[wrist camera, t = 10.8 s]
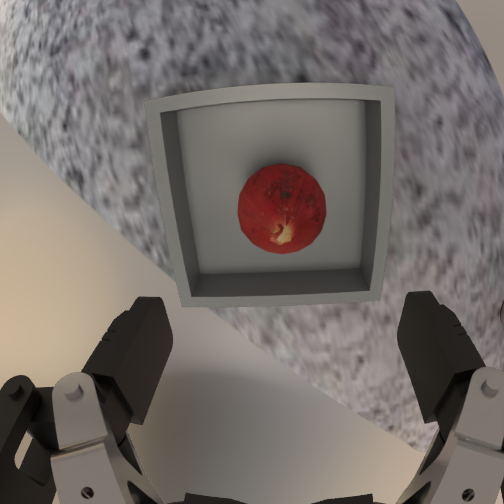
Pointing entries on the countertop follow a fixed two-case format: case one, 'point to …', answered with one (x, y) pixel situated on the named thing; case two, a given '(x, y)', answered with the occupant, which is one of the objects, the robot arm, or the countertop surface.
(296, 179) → the onion
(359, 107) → the tray
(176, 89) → the countertop surface
